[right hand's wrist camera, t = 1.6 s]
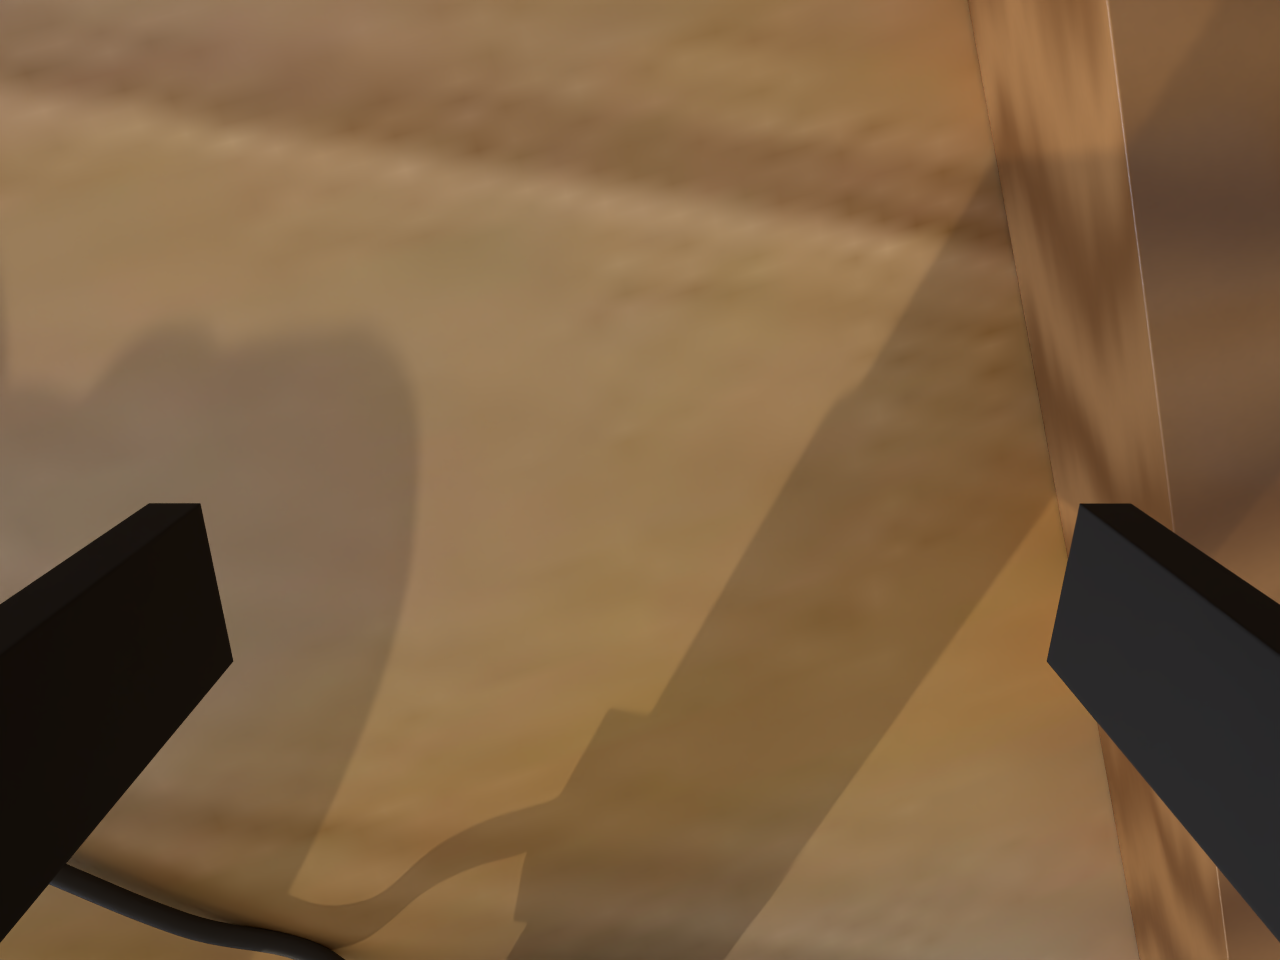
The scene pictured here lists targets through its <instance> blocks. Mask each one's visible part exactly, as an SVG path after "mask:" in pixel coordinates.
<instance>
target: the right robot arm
mask: <svg viewBox="0 0 1280 960" xmlns="http://www.w3.org/2000/svg"><path fill="white" fill-rule="evenodd" d="M232 662H233V658H232V653H231V648H230V643H229V639H228V634H227V629H226V624H225V619H224V615H223V610H222V605H221V600H220V595H219V591H218V586H217V581H216V576H215V571H214V567H213V562H212V557H211V552H210V547H209V543H208V538H207V533H206V528H205V523H204V519H203V514H202V509H201V504H200V503H149V504H147V505H146V506H144V507H143V508H142V509H140V510H139V511H137V512H136V513H134V514H133V515H131V516H130V517H128V518H127V519H125V520H124V521H122V522H121V523H119V524H118V525H116V526H115V527H114V528H112V529H111V530H109V531H108V532H106V533H105V534H103V535H102V536H100V537H99V538H97V539H96V540H94V541H93V542H91V543H90V544H88V545H87V546H86V547H84V548H83V549H81V550H80V551H78V552H77V553H75V554H74V555H72V556H71V557H69V558H68V559H66V560H65V561H63V562H62V563H60V564H59V565H58V566H56V567H55V568H53V569H52V570H50V571H49V572H47V573H46V574H44V575H43V576H41V577H40V578H38V579H37V580H35V581H34V582H32V583H31V584H30V585H28V586H27V587H25V588H24V589H22V590H21V591H19V592H18V593H16V594H15V595H13V596H12V597H10V598H9V599H7V600H6V601H4V602H3V603H2V604H0V942H1V941H2V940H3V939H4V938H5V936H6V935H7V934H8V933H9V931H10V930H11V929H12V928H13V927H14V925H15V924H16V923H17V922H18V921H19V919H20V918H21V917H22V916H23V915H24V913H25V912H26V911H27V910H28V909H29V907H30V906H31V905H32V904H33V903H34V901H35V900H36V899H37V898H38V896H39V895H40V894H41V893H42V892H43V890H44V889H45V888H46V887H47V886H48V884H49V883H50V882H51V881H52V880H53V878H54V877H55V876H56V875H57V874H58V872H59V871H60V870H61V869H62V867H63V866H64V865H65V864H66V863H67V861H68V860H69V859H70V858H71V857H72V855H73V854H74V853H75V852H76V851H77V849H78V848H79V847H80V846H81V845H82V843H83V842H84V841H85V840H86V839H87V837H88V836H89V835H90V834H91V832H92V831H93V830H94V829H95V828H96V826H97V825H98V824H99V823H100V822H101V820H102V819H103V818H104V817H105V816H106V814H107V813H108V812H109V811H110V810H111V808H112V807H113V806H114V805H115V804H116V802H117V801H118V800H119V799H120V797H121V796H122V795H123V794H124V793H125V791H126V790H127V789H128V788H129V787H130V785H131V784H132V783H133V782H134V781H135V779H136V778H137V777H138V776H139V775H140V773H141V772H142V771H143V770H144V769H145V767H146V766H147V765H148V764H149V762H150V761H151V760H152V759H153V758H154V756H155V755H156V754H157V753H158V752H159V750H160V749H161V748H162V747H163V746H164V744H165V743H166V742H167V741H168V740H169V738H170V737H171V736H172V735H173V733H174V732H175V731H176V730H177V729H178V727H179V726H180V725H181V724H182V723H183V721H184V720H185V719H186V718H187V717H188V715H189V714H190V713H191V712H192V711H193V709H194V708H195V707H196V706H197V705H198V703H199V702H200V701H201V700H202V698H203V697H204V696H205V695H206V694H207V692H208V691H209V690H210V689H211V688H212V686H213V685H214V684H215V683H216V682H217V680H218V679H219V678H220V677H221V676H222V674H223V673H224V672H225V671H226V670H227V668H228V667H229V666H230V665H231V663H232ZM1047 662H1048V663H1049V665H1050V666H1051V667H1052V668H1053V670H1054V671H1055V672H1056V673H1057V674H1058V676H1059V677H1060V678H1061V679H1062V680H1063V682H1064V683H1065V684H1066V685H1067V686H1068V688H1069V689H1070V690H1071V691H1072V692H1073V694H1074V695H1075V696H1076V697H1077V698H1078V700H1079V701H1080V702H1081V703H1082V705H1083V706H1084V707H1085V708H1086V709H1087V711H1088V712H1089V713H1090V714H1091V715H1092V717H1093V718H1094V719H1095V720H1096V721H1097V723H1098V724H1099V725H1100V726H1101V727H1102V729H1103V730H1104V731H1105V732H1106V733H1107V735H1108V736H1109V737H1110V738H1111V740H1112V741H1113V742H1114V743H1115V744H1116V746H1117V747H1118V748H1119V749H1120V750H1121V752H1122V753H1123V754H1124V755H1125V756H1126V758H1127V759H1128V760H1129V761H1130V762H1131V764H1132V765H1133V766H1134V767H1135V769H1136V770H1137V771H1138V772H1139V773H1140V775H1141V776H1142V777H1143V778H1144V779H1145V781H1146V782H1147V783H1148V784H1149V785H1150V787H1151V788H1152V789H1153V790H1154V791H1155V793H1156V794H1157V795H1158V796H1159V797H1160V799H1161V800H1162V801H1163V802H1164V804H1165V805H1166V806H1167V807H1168V808H1169V810H1170V811H1171V812H1172V813H1173V814H1174V816H1175V817H1176V818H1177V819H1178V820H1179V822H1180V823H1181V824H1182V825H1183V826H1184V828H1185V829H1186V830H1187V831H1188V832H1189V834H1190V835H1191V836H1192V837H1193V839H1194V840H1195V841H1196V842H1197V843H1198V845H1199V846H1200V847H1201V848H1202V849H1203V851H1204V852H1205V853H1206V854H1207V855H1208V857H1209V858H1210V859H1211V860H1212V861H1213V863H1214V864H1215V865H1216V866H1217V867H1218V869H1219V870H1220V871H1221V872H1222V874H1223V875H1224V876H1225V877H1226V878H1227V880H1228V881H1229V882H1230V883H1231V884H1232V886H1233V887H1234V888H1235V889H1236V890H1237V892H1238V893H1239V894H1240V895H1241V896H1242V898H1243V899H1244V900H1245V901H1246V903H1247V904H1248V905H1249V906H1250V907H1251V909H1252V910H1253V911H1254V912H1255V913H1256V915H1257V916H1258V917H1259V918H1260V919H1261V921H1262V922H1263V923H1264V924H1265V925H1266V927H1267V928H1268V929H1269V930H1270V931H1271V933H1272V934H1273V935H1274V936H1275V938H1276V939H1277V940H1278V941H1279V942H1280V604H1278V603H1277V602H1276V601H1274V600H1273V599H1271V598H1270V597H1268V596H1267V595H1265V594H1264V593H1262V592H1261V591H1259V590H1258V589H1256V588H1255V587H1253V586H1252V585H1250V584H1249V583H1248V582H1246V581H1245V580H1243V579H1242V578H1240V577H1239V576H1237V575H1236V574H1234V573H1233V572H1231V571H1230V570H1228V569H1227V568H1225V567H1224V566H1222V565H1221V564H1220V563H1218V562H1217V561H1215V560H1214V559H1212V558H1211V557H1209V556H1208V555H1206V554H1205V553H1203V552H1202V551H1200V550H1199V549H1197V548H1196V547H1194V546H1193V545H1192V544H1190V543H1189V542H1187V541H1186V540H1184V539H1183V538H1181V537H1180V536H1178V535H1177V534H1175V533H1174V532H1172V531H1171V530H1169V529H1168V528H1166V527H1165V526H1164V525H1162V524H1161V523H1159V522H1158V521H1156V520H1155V519H1153V518H1152V517H1150V516H1149V515H1147V514H1146V513H1144V512H1143V511H1141V510H1140V509H1138V508H1137V507H1136V506H1134V505H1133V504H1131V503H1080V504H1079V509H1078V514H1077V519H1076V523H1075V528H1074V533H1073V538H1072V543H1071V547H1070V552H1069V557H1068V562H1067V567H1066V571H1065V576H1064V581H1063V586H1062V591H1061V595H1060V600H1059V605H1058V610H1057V615H1056V619H1055V624H1054V629H1053V634H1052V639H1051V643H1050V648H1049V653H1048V658H1047Z"/></svg>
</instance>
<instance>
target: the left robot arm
mask: <svg viewBox="0 0 1280 960" xmlns="http://www.w3.org/2000/svg"><path fill="white" fill-rule="evenodd" d="M49 884H50V885H52V886H55V887H57V888H59V889H62V890H64V891H67V892H69V893H71V894H74V895H76V896H78V897H81V898H83V899H85V900H88V901H90V902H93V903H95V904H97V905H100V906H102V907H104V908H107V909H109V910H112V911H114V912H117V913H119V914H121V915H124V916H126V917H129V918H131V919H134V920H137V921H139V922H142V923H144V924H147V925H150V926H152V927H155V928H158V929H161V930H163V931H166V932H169V933H172V934H175V935H178V936H181V937H184V938H188V939H191V940H195V941H199V942H203V943H208V944H213V945H218V946H224V947H231V948H237V949H245V950H252V951H259V952H265V953H270V954H276V955H280V956H284V957H288V958H291V959H294V960H345V959H343V958H342V957H341V956H339V955H338V954H336V953H335V952H333V951H331V950H330V949H328V948H326V947H324V946H322V945H320V944H318V943H315V942H312V941H310V940H307V939H304V938H300V937H297V936H293V935H289V934H285V933H281V932H276V931H272V930H267V929H260V928H254V927H247V926H240V925H234V924H228V923H223V922H218V921H213V920H209V919H205V918H201V917H198V916H195V915H192V914H188V913H186V912H183V911H180V910H177V909H174V908H172V907H169V906H166V905H164V904H161V903H158V902H156V901H153V900H151V899H148V898H146V897H143V896H141V895H138V894H136V893H133V892H131V891H128V890H126V889H124V888H121V887H119V886H117V885H114V884H112V883H110V882H107V881H105V880H103V879H100V878H98V877H96V876H93V875H91V874H89V873H86V872H84V871H82V870H79V869H77V868H75V867H72V866H70V865H67V864H65V865H64V866H63V867H62V869H61V870H60V871H59V872H58V874H57V875H56V876H55V877H54V878H53V880H52V881H51V882H50V883H49Z"/></svg>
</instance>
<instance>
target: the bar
mask: <svg viewBox="0 0 1280 960" xmlns="http://www.w3.org/2000/svg"><path fill="white" fill-rule="evenodd" d="M968 4H969V9H970V15H971V21H972V26H973V32H974V37H975V43H976V48H977V54H978V60H979V65H980V71H981V76H982V82H983V88H984V93H985V99H986V104H987V110H988V115H989V121H990V127H991V132H992V138H993V143H994V149H995V154H996V160H997V166H998V171H999V177H1000V182H1001V188H1002V193H1003V199H1004V205H1005V210H1006V216H1007V221H1008V227H1009V232H1010V238H1011V244H1012V249H1013V255H1014V260H1015V266H1016V271H1017V277H1018V283H1019V288H1020V294H1021V299H1022V305H1023V310H1024V316H1025V322H1026V327H1027V333H1028V338H1029V344H1030V349H1031V355H1032V361H1033V366H1034V372H1035V377H1036V383H1037V389H1038V394H1039V400H1040V405H1041V411H1042V416H1043V422H1044V428H1045V433H1046V439H1047V444H1048V450H1049V455H1050V461H1051V467H1052V472H1053V478H1054V483H1055V489H1056V494H1057V500H1058V506H1059V511H1060V517H1061V522H1062V528H1063V533H1064V539H1065V545H1066V550H1067V556H1068V557H1069V552H1070V547H1071V543H1072V538H1073V533H1074V528H1075V523H1076V519H1077V514H1078V509H1079V504H1080V503H1131V504H1133V505H1134V506H1136V507H1137V508H1138V509H1140V510H1141V511H1143V512H1144V513H1146V514H1147V515H1149V516H1150V517H1152V518H1153V519H1155V520H1156V521H1158V522H1159V523H1161V524H1162V525H1164V526H1165V527H1166V528H1168V529H1169V530H1171V531H1172V532H1174V533H1175V534H1177V535H1178V536H1180V537H1181V538H1183V539H1184V540H1186V541H1187V542H1189V543H1190V544H1192V545H1193V546H1194V547H1196V548H1197V549H1199V550H1200V551H1202V552H1203V553H1205V554H1206V555H1208V556H1209V557H1211V558H1212V559H1214V560H1215V561H1217V562H1218V563H1220V564H1221V565H1222V566H1224V567H1225V568H1227V569H1228V570H1230V571H1231V572H1233V573H1234V574H1236V575H1237V576H1239V577H1240V578H1242V579H1243V580H1245V581H1246V582H1248V583H1249V584H1250V585H1252V586H1253V587H1255V588H1256V589H1258V590H1259V591H1261V592H1262V593H1264V594H1265V595H1267V596H1268V597H1270V598H1271V599H1273V600H1274V601H1276V602H1277V603H1278V604H1280V0H968ZM1098 729H1099V734H1100V740H1101V745H1102V751H1103V756H1104V762H1105V768H1106V773H1107V779H1108V784H1109V790H1110V795H1111V801H1112V807H1113V812H1114V818H1115V823H1116V829H1117V834H1118V840H1119V846H1120V851H1121V857H1122V862H1123V868H1124V873H1125V879H1126V885H1127V890H1128V896H1129V901H1130V907H1131V912H1132V918H1133V924H1134V929H1135V935H1136V940H1137V946H1138V951H1139V957H1140V960H1280V942H1279V941H1278V940H1277V939H1276V938H1275V936H1274V935H1273V934H1272V933H1271V931H1270V930H1269V929H1268V928H1267V927H1266V925H1265V924H1264V923H1263V922H1262V921H1261V919H1260V918H1259V917H1258V916H1257V915H1256V913H1255V912H1254V911H1253V910H1252V909H1251V907H1250V906H1249V905H1248V904H1247V903H1246V901H1245V900H1244V899H1243V898H1242V896H1241V895H1240V894H1239V893H1238V892H1237V890H1236V889H1235V888H1234V887H1233V886H1232V884H1231V883H1230V882H1229V881H1228V880H1227V878H1226V877H1225V876H1224V875H1223V874H1222V872H1221V871H1220V870H1219V869H1218V867H1217V866H1216V865H1215V864H1214V863H1213V861H1212V860H1211V859H1210V858H1209V857H1208V855H1207V854H1206V853H1205V852H1204V851H1203V849H1202V848H1201V847H1200V846H1199V845H1198V843H1197V842H1196V841H1195V840H1194V839H1193V837H1192V836H1191V835H1190V834H1189V832H1188V831H1187V830H1186V829H1185V828H1184V826H1183V825H1182V824H1181V823H1180V822H1179V820H1178V819H1177V818H1176V817H1175V816H1174V814H1173V813H1172V812H1171V811H1170V810H1169V808H1168V807H1167V806H1166V805H1165V804H1164V802H1163V801H1162V800H1161V799H1160V797H1159V796H1158V795H1157V794H1156V793H1155V791H1154V790H1153V789H1152V788H1151V787H1150V785H1149V784H1148V783H1147V782H1146V781H1145V779H1144V778H1143V777H1142V776H1141V775H1140V773H1139V772H1138V771H1137V770H1136V769H1135V767H1134V766H1133V765H1132V764H1131V762H1130V761H1129V760H1128V759H1127V758H1126V756H1125V755H1124V754H1123V753H1122V752H1121V750H1120V749H1119V748H1118V747H1117V746H1116V744H1115V743H1114V742H1113V741H1112V740H1111V738H1110V737H1109V736H1108V735H1107V733H1106V732H1105V731H1104V730H1103V729H1102V727H1101V726H1100V725H1099V724H1098Z"/></svg>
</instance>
